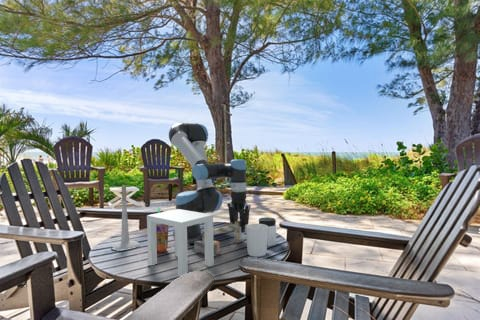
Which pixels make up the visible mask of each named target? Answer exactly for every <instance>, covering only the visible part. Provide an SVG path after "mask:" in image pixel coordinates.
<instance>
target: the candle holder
mask: <svg viewBox="0 0 480 320" xmlns="http://www.w3.org/2000/svg"><path fill="white" fill-rule="evenodd" d="M267 234H268V226H267V225H265V224H259V223H248V225H245V235H246V238H245V239H246V247H247V248H246V249H247V250H246V251H247V255H249V256H251V257H255V258H258V257H264V256H266V255H267V251H268V246H267Z"/></svg>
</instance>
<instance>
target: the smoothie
mask: <svg viewBox="0 0 480 320" xmlns="http://www.w3.org/2000/svg"><path fill="white" fill-rule="evenodd" d="M157 209H158V211H157V213H161V210H160V209H161V207H158V208H157ZM169 226H170V225H165V224H161V223H157V222H156V237H157V254H163V253H162V252H164V253H166V252H167V250H168V247H169V245H168V244H169ZM165 251H166V252H165Z"/></svg>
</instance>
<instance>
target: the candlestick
mask: <svg viewBox="0 0 480 320" xmlns="http://www.w3.org/2000/svg"><path fill="white" fill-rule="evenodd" d="M128 200H129V199H128V198H127V185H125V184H122V185H121V199H120V201H121V205H122V207H121V232H120V233H121V236H120V241H117V242H115V243H113V245H111V246H112V247H113V248H115V249H128V248H133V247H137V246H138V245H139V244H140V243H139V242H138V241H136V240H130V233H129V223H128V222H129V221H128V207H127V204H128Z"/></svg>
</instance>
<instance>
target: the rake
mask: <svg viewBox="0 0 480 320" xmlns="http://www.w3.org/2000/svg"><path fill="white" fill-rule="evenodd" d="M239 226H240V219H238V221H235V224H232V223H231V224H228V225H224V226H221V227H217V228H213V236H215V235H218V234H222V233H225V232H229V231H232V230H233V229H235V235H234V243H242V242H244V239H245V238H244V239H241V240H240V239H239ZM233 231H234V230H233ZM193 241H194V240H193ZM193 245H194V249H193V250H194V251H196V252H200V253H202V254H204V253H205V242H204V231H202V240H195V241H194V244H193ZM217 255H218V254H217V245H214V257H216V256H217Z"/></svg>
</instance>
